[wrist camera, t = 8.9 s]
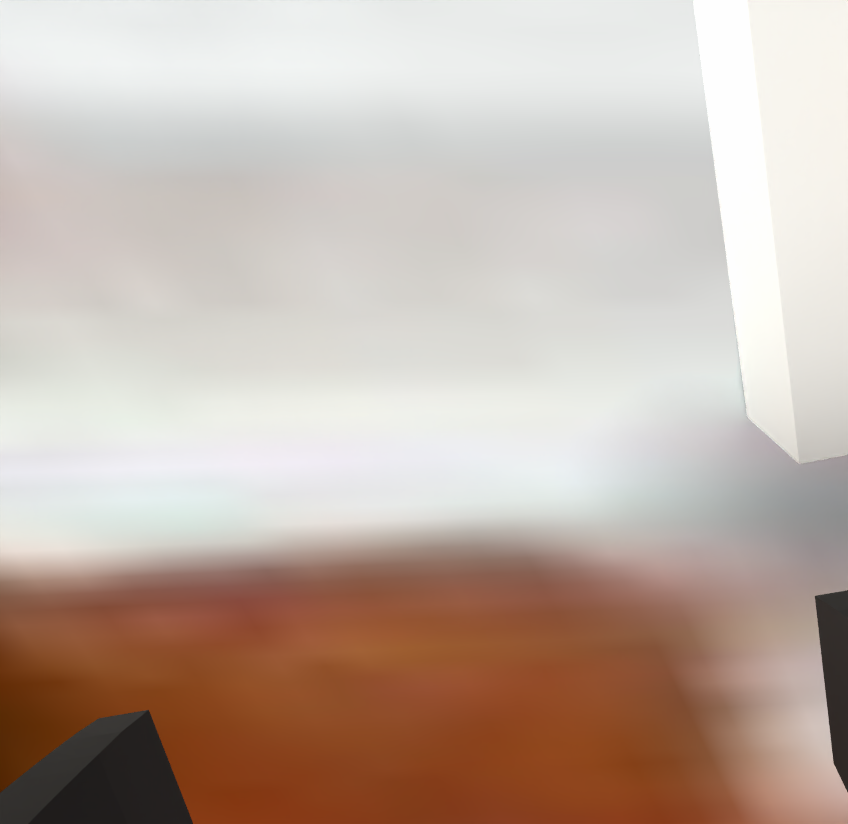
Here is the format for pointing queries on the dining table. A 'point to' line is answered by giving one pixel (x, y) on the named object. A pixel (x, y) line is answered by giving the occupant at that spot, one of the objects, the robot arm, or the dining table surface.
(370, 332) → the dining table surface
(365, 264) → the dining table surface
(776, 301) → the base block
